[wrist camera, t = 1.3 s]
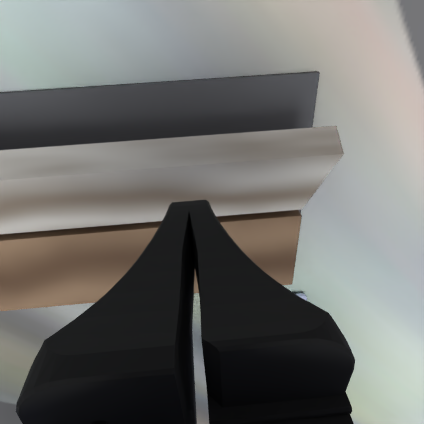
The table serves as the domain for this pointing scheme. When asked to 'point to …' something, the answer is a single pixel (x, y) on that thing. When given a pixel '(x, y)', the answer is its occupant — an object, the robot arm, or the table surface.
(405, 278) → the table surface
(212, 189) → the plank
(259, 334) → the robot arm
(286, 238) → the laid plank
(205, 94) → the underlay mat
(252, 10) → the table surface
